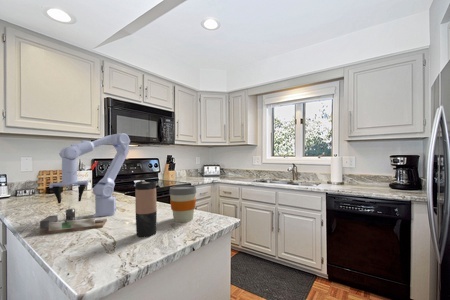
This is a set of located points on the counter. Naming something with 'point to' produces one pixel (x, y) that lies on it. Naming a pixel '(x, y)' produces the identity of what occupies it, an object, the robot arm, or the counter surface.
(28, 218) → the counter surface
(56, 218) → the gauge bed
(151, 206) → the travel mug
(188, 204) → the reusable coffee cup
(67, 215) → the gauge slider
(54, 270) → the counter surface
